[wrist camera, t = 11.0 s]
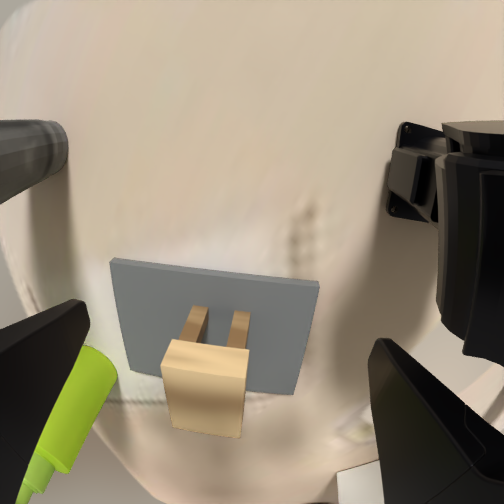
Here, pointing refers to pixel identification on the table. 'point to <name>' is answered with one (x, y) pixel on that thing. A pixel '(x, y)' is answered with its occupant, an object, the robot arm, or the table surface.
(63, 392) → the soap dispenser
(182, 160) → the table surface
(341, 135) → the table surface
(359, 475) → the milk carton
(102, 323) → the table surface
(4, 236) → the table surface
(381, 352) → the robot arm
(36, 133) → the beverage cup
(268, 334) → the grey rectangular board
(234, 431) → the oak stool
